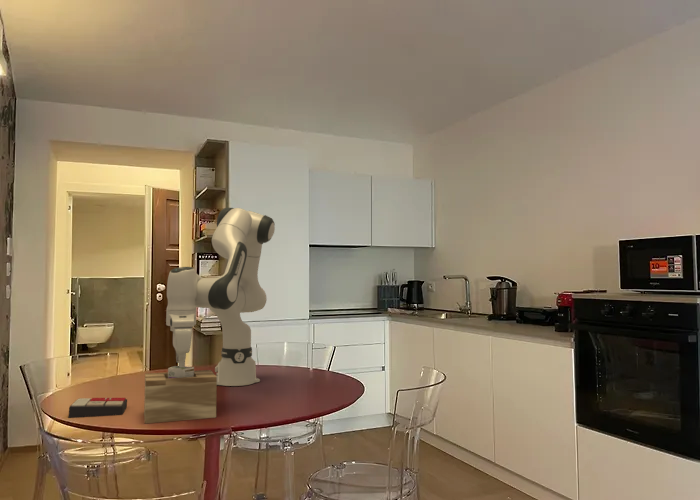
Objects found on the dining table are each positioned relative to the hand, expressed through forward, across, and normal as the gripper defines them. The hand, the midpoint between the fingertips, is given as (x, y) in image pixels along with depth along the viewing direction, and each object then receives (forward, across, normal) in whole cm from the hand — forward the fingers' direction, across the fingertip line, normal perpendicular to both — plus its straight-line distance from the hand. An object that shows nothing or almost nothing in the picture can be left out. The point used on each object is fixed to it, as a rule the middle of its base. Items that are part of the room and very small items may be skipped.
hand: (180, 364), depth 166 cm
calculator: (+16, -13, -23) cm, 31 cm away
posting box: (+15, 0, 0) cm, 15 cm away
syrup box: (+15, 0, 0) cm, 15 cm away
